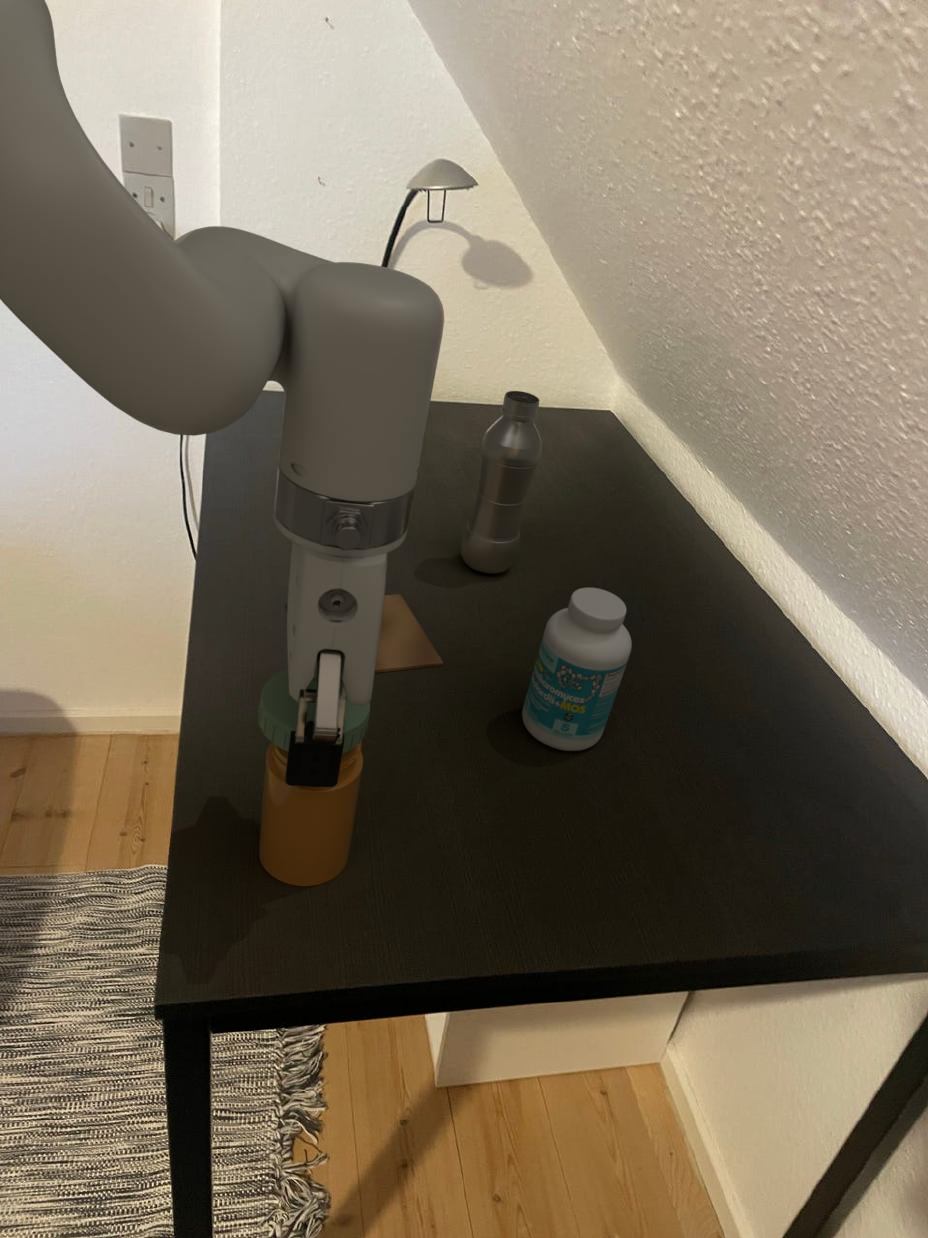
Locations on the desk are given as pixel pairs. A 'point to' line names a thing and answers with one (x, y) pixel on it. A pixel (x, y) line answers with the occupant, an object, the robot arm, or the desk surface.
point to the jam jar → (307, 821)
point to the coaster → (402, 639)
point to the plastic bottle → (503, 485)
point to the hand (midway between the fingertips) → (310, 740)
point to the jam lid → (282, 714)
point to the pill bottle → (578, 671)
